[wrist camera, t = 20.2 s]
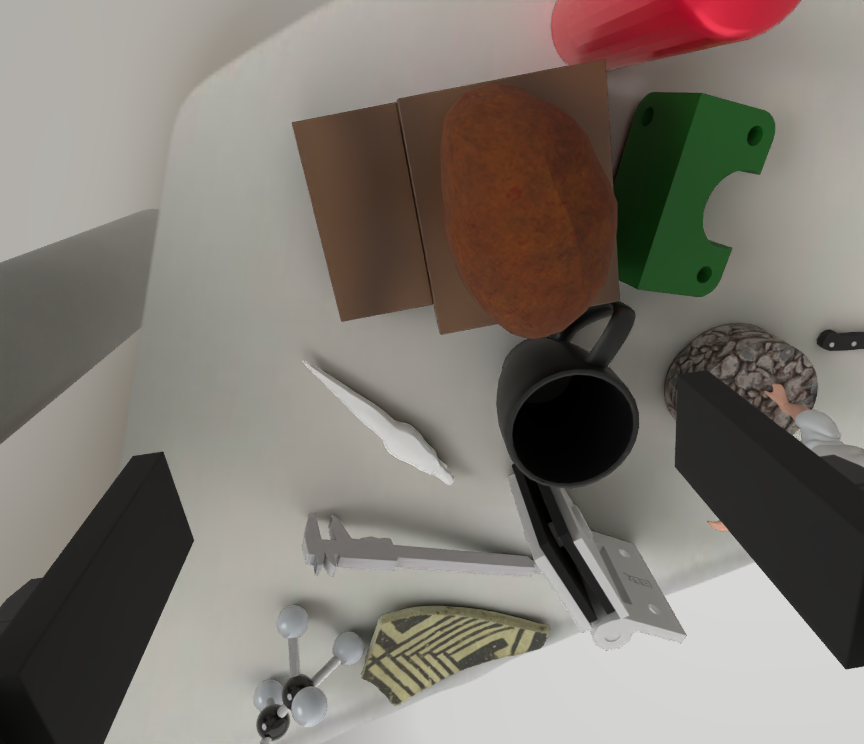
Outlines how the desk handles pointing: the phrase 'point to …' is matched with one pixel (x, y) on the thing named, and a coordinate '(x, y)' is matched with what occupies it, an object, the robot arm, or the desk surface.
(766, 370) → the figurine
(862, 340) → the knife
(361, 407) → the white tapered spike
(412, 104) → the step shelf
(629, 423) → the mug
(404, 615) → the pottery shard
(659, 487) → the desk surface
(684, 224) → the clamp
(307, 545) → the caliper
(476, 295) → the potato
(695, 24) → the bottle
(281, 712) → the molecular model
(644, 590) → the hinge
